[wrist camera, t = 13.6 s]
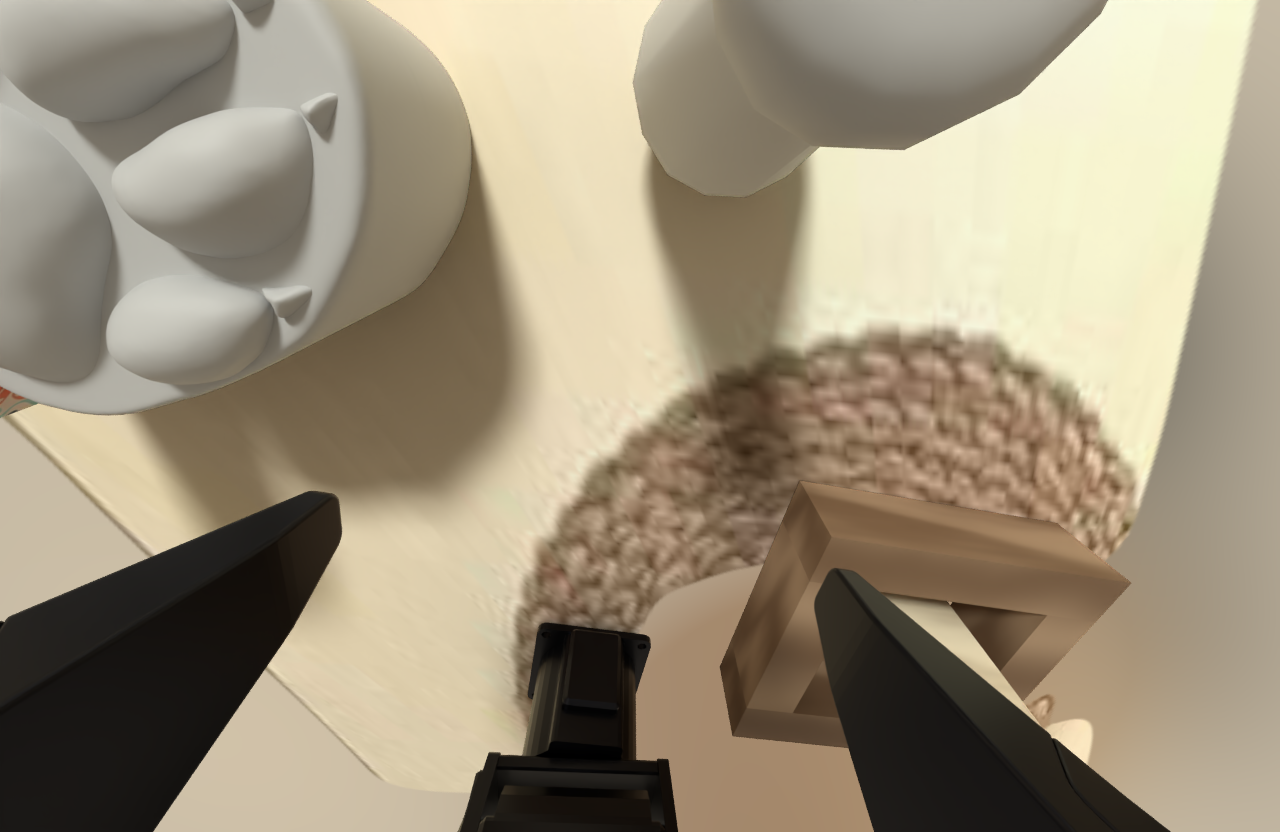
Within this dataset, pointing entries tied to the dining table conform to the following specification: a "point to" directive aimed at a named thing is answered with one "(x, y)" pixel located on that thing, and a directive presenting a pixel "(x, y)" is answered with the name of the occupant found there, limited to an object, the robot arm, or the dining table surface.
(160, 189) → the lumpy-topped squat cylinder
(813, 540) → the socket block
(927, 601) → the birch peg
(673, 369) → the dining table surface
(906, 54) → the salt shaker
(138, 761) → the robot arm
